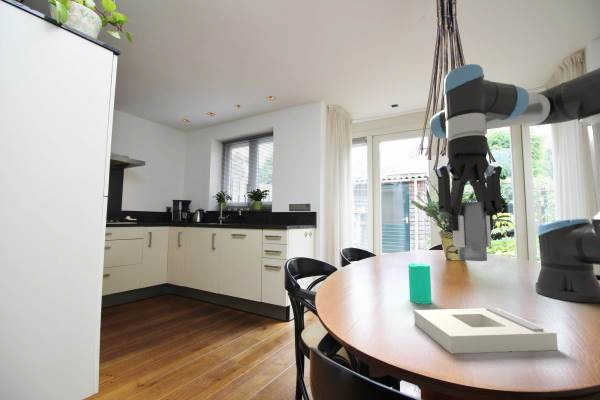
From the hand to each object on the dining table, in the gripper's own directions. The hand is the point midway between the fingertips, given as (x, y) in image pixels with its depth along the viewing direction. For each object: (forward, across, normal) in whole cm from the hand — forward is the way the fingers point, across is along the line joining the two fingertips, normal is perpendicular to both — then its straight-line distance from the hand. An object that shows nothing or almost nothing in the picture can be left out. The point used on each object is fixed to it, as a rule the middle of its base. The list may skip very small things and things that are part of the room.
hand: (472, 246), depth 57 cm
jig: (+18, 0, 0) cm, 18 cm away
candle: (+18, 0, -24) cm, 30 cm away
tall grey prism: (+3, 0, 0) cm, 3 cm away
